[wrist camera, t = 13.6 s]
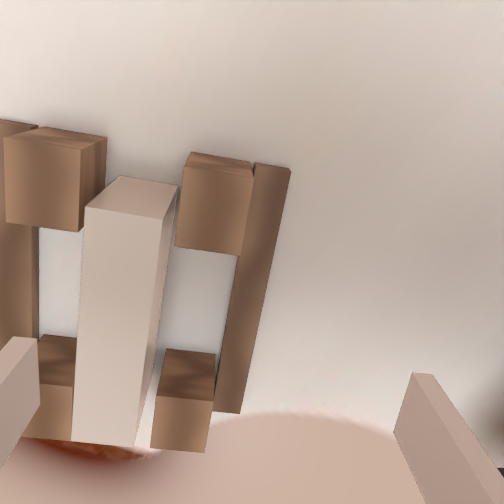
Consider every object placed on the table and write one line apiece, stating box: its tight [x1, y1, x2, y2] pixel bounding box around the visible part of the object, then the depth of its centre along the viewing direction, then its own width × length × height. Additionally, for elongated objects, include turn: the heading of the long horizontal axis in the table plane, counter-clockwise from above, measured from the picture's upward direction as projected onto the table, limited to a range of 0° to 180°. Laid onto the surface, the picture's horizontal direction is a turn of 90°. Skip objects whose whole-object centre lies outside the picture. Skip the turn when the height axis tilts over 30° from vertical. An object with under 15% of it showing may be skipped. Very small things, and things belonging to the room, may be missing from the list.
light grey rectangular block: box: [71, 175, 178, 447], centre depth 36 cm, size 5×20×10 cm, turn 169°
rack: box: [0, 119, 291, 453], centre depth 37 cm, size 24×26×7 cm
